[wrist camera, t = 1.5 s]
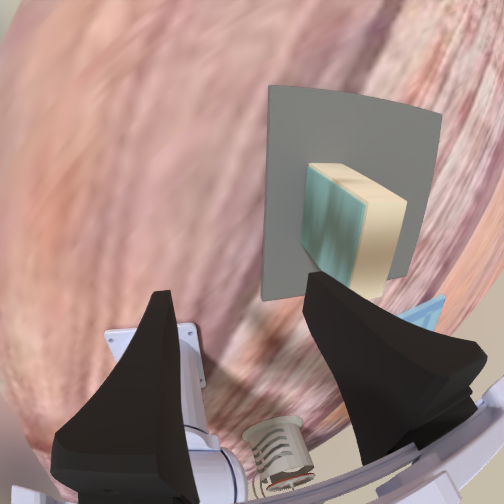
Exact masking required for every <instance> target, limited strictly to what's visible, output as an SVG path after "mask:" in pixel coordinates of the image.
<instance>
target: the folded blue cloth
mask: <svg viewBox="0 0 504 504" xmlns="http://www.w3.org/2000/svg"><path fill="white" fill-rule="evenodd" d="M445 298H446V297H445V296H444V295H443V294H442V295H440V296H438V297H436V298H434V299H431V300H429V301H427V302H425V303H423V304H421V305H419V306H417V307H415V308H412V309H410V310H408V311H406V312H404V313H401V314H399V315H397V317H399V318H401V319H403V320H405V321H407V322H410V323H412V324H414V325H417V326H420V327H422V328H425V329H427V330H430V331H434V329H435V326H436V323H437V321H438V318H439V315H440V313H441V310H442V307H443V304H444V301H445Z"/></svg>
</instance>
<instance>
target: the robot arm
mask: <svg viewBox="0 0 504 504" xmlns="http://www.w3.org/2000/svg"><path fill="white" fill-rule="evenodd" d="M302 312H303V314H304V317H305V320H306V323H307V325H308V328H309V330H310V333H311V335H312V337H313V338H314V340H315V342H316V344H317V346H318V348H319V350H320V351H321V353H322V355H323V357H324V359H325V361H326V362H327V364H328V366H329V368H330V370H331V372H332V373H333V375H334V378H335V380H336V382H337V384H338V387H339V389H340V392H341V394H342V397H343V400H344V402H345V405H346V408H347V411H348V414H349V417H350V420H351V423H352V426H353V430H354V433H355V436H356V439H357V444H358V448H359V452H360V456H361V461H362V465H363V467H360V468H358V469H356V470H353V471H351V472H348V473H346V474H343V475H340V476H337V477H335V478H332V479H329V480H326V481H323V482H320V483H317V484H314V485H311V486H307V487H304V488H301V489H297V490H293V491H290V492H286V493H282V494H278V495H274V496H270V497H265V498H260V499H255V500H250V501H247V499H248V483H247V478H246V474H245V471H244V468H243V466H242V464H241V462H240V461H239V459H238V458H237V457H236V456H235V455H234V453H233V452H232V451H231V450H229V449H228V448H225V447H220V444H219V439H218V436H216V435H209V431H208V426H207V421H206V415H205V409H204V403H203V397H202V391H201V388H204V387H205V386H206V382H205V377H204V371H203V365H202V360H201V354H200V348H199V342H198V336H197V329H196V325H195V324H194V323H180V324H177V322H176V317H175V312H174V307H173V302H172V297H171V291H170V290H165V291H155V292H154V293H153V294H152V295H151V298H150V301H149V303H148V306H147V308H146V311H145V313H144V315H143V317H142V319H141V321H140V324H139V326H138V328H127V329H113V330H106V331H105V334H104V337H105V339H106V341H107V344H108V346H109V348H110V350H111V352H112V355H113V357H114V359H115V361H116V363H117V364H116V366H115V367H114V369H113V370H112V372H111V373H110V375H109V376H108V377H107V379H106V380H105V381H104V383H103V384H102V385H101V387H100V388H99V389H98V390H97V391H96V393H95V394H94V395H93V396H92V397H91V398H90V399H89V401H88V402H87V403H86V404H85V405H84V406H83V407H82V408H81V409H80V411H79V412H78V413H77V414H76V415H75V416H73V417H72V418H71V419H70V420H69V421H68V422H67V423H66V424H65V425H64V426H63V427H62V428H60V429H59V430H58V431H57V432H56V433H55V437H54V441H53V445H52V454H51V469H50V473H51V475H52V476H53V477H54V478H55V479H56V480H57V481H59V482H60V483H62V484H64V485H65V486H67V487H69V488H71V489H73V490H74V491H76V492H78V503H72V502H66V501H60V500H56V499H54V498H53V497H51V496H49V495H47V494H45V493H42V492H39V491H35V490H31V489H28V488H24V487H21V486H17V485H12V500H11V501H12V502H11V504H318V503H321V502H324V501H327V500H330V499H333V498H336V497H338V496H341V495H343V494H346V493H349V492H351V491H353V490H356V489H358V488H360V487H363V486H365V485H368V484H370V483H372V482H374V481H376V480H378V479H380V478H382V477H385V476H387V475H389V474H391V473H393V472H395V471H396V470H398V469H400V468H402V467H404V466H406V465H408V464H410V463H411V462H413V463H412V465H411V466H410V467H408V468H407V469H405V470H404V471H402V472H400V473H398V474H397V475H396V476H395V477H393V478H392V479H390V480H389V481H388V482H386V483H384V484H383V485H381V486H379V487H377V488H376V493H377V495H378V496H379V498H378V499H376V500H374V501H371V502H370V503H367V504H460V501H461V499H462V497H461V495H460V493H459V490H460V489H461V488H463V487H464V486H465V485H466V484H467V483H468V482H469V481H470V480H471V479H472V478H473V477H474V476H475V475H476V474H477V473H478V472H479V471H480V470H481V469H482V468H483V467H484V466H485V465H486V464H487V463H488V462H489V461H490V460H491V459H492V458H493V457H494V455H495V454H496V453H497V452H498V451H499V450H500V449H501V448H502V446H503V445H504V375H503V376H502V377H501V378H500V379H499V380H498V381H496V382H495V383H494V384H493V385H492V386H490V387H489V389H488V390H487V391H486V392H485V393H484V394H483V396H482V398H480V399H479V400H477V401H476V402H475V403H474V402H473V400H472V399H471V397H470V395H471V394H472V390H471V388H470V387H469V385H470V384H471V383H472V382H473V380H474V379H475V378H476V377H477V375H478V374H479V373H480V372H481V370H482V369H483V367H484V366H485V364H486V362H487V355H486V354H485V352H484V351H483V350H482V349H481V348H480V346H479V345H478V344H477V343H476V342H474V341H469V340H464V339H459V338H454V337H450V336H447V335H443V334H439V333H436V332H433V331H430V330H427V329H425V328H422V327H420V326H417V325H414V324H412V323H410V322H407V321H405V320H403V319H401V318H399V317H397V316H395V315H393V314H391V313H389V312H387V311H385V310H383V309H382V308H380V307H378V306H377V305H375V304H373V303H371V302H370V301H368V300H367V299H365V298H363V297H362V296H360V295H359V294H357V293H356V292H354V291H353V290H351V289H350V288H348V287H347V286H345V285H344V284H342V283H341V282H339V281H338V280H336V279H335V278H333V277H332V276H330V275H328V274H327V273H325V272H323V271H318V272H311V273H308V280H307V286H306V293H305V299H304V305H303V311H302ZM189 332H192V333H189ZM111 339H113V340H111Z"/></svg>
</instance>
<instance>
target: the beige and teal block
mask: <svg viewBox="0 0 504 504" xmlns="http://www.w3.org/2000/svg"><path fill="white" fill-rule="evenodd" d="M406 205H407V201H406V200H404V199H403V198H401V197H399V196H398V195H396V194H394V193H393V192H391V191H390V190H388V189H386V188H384V187H383V186H381V185H379V184H378V183H376V182H374V181H372V180H371V179H369V178H367V177H365V176H364V175H362V174H360V173H358V172H356V171H355V170H353V169H351V168H349V167H347V166H345V165H344V164H340V163H309V167H307V179H306V190H305V201H304V212H303V222H302V232H301V241H300V243H301V244H302V245H303V247H304V248H305V249H306V251H307V252H308V253H309V255H310V256H311V257H312V259H313V260H314V261H315V263H316V264H317V265H318V267H319V268H320V269H321V271H323V272H325V273H327V274H328V275H330V276H332V277H333V278H335V279H336V280H338V281H339V282H341V283H342V284H344V285H345V286H347V287H348V288H350V289H351V290H353V291H354V292H356V293H357V294H359V295H360V296H362V297H363V298H365V299H372V298H376V297H381V295H382V292H383V289H384V286H385V283H386V280H387V277H388V273H389V270H390V267H391V264H392V260H393V257H394V253H395V250H396V246H397V242H398V238H399V235H400V231H401V227H402V223H403V218H404V214H405V210H406Z"/></svg>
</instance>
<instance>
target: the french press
mask: <svg viewBox="0 0 504 504" xmlns="http://www.w3.org/2000/svg"><path fill="white" fill-rule="evenodd" d="M302 424H303V419H302V418H301V417H299V416H281V417H275V418H271V419H268V420H265V421H262V422H259V423H257V424H255V425H253V426H251V427H249V428H248V429H247V430H246V431H245V432H244V433H243V435H242V438H243V439H244V441H246V442H248V443H250V444H251V447H252V451H253V454H254V458H255V461H256V465H257V468H258V469H257V470H256V471H255V473H254V475H253V481H252V486H253V491H254V494H255V497H256V498H257V499H258V497H257V495H256V493H255V488H254V477H255V475H256V473H257V471H259V475H260V488H261V492H262V495H263V496H264V498H265V495H264V493H263V489H262V483H268V482H267V477H269V476H270V479H271V482H272V484H271V485H269V486H268V487H267V488H266V490H267V491H270V492H271V491H274V492H275V491H279V490H280V491H281V490H283V489H287V488H288V489H289V488H291V487H292V489H293V490H294V488H293V487H295V486H298V485H301V484H304V483H306V482H308V481H311V480H312V479H313V478H314V477H315V474H314V473H308V472H309V471H311V470H312V469H313V468H314V465H313V463H312V460H311V457H310V455H309V452H308V450H307V447H306V445H305V442H304V439H303V437H302V434H301V432H300V428H301V426H302ZM257 446H259V447H258V448H257ZM260 450H262V454H261V455H259V451H260ZM283 451H289V452H284V453H281V452H283ZM292 454H293V455H292ZM278 456H282V457H281V458H278ZM263 457H264V460H265V461H264V462H263V463H262V462H261V459H262V458H263ZM265 465H266V468H265V469H264V468H263V467H264V466H265ZM301 466H304V467H303V468H301V469H300V470H298V471H296V472H290V473H286V472H283V471H285V470H288V469H293V468H297V467H301ZM324 502H325V501H324ZM324 502H321V503H318V504H323V503H324Z"/></svg>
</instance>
